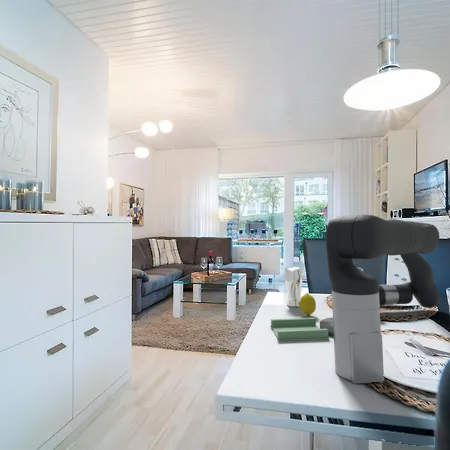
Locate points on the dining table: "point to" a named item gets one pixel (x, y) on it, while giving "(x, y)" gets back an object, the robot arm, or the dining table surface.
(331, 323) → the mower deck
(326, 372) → the dining table surface
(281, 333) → the side chute
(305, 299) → the lemon
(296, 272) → the beer glass
